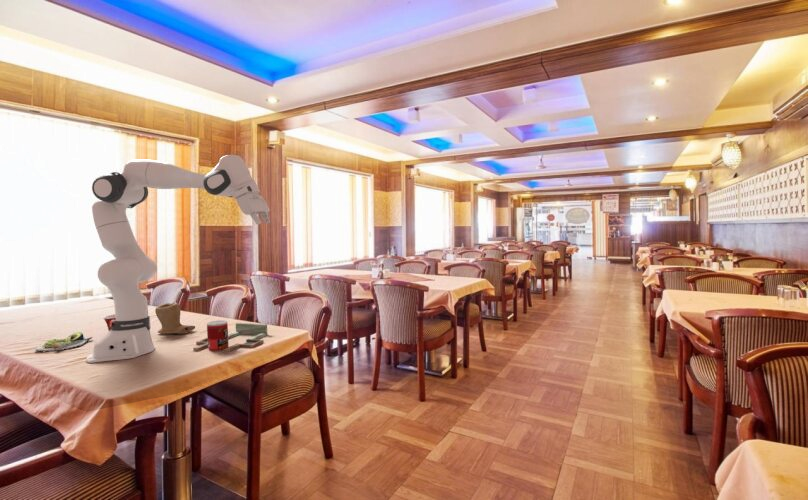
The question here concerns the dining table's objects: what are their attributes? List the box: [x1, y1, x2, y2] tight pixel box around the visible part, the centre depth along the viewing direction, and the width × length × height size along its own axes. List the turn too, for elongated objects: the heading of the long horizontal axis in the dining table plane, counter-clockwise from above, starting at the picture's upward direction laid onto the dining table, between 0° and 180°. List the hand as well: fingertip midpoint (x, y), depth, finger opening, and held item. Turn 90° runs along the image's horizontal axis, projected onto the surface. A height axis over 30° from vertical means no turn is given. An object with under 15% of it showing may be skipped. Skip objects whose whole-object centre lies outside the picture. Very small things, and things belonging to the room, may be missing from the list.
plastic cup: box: [102, 313, 116, 332], centre depth 183 cm, size 11×11×12 cm
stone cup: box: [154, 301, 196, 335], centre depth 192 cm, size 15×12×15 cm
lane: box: [193, 322, 268, 354], centre depth 174 cm, size 28×28×5 cm
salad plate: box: [35, 331, 94, 352], centre depth 174 cm, size 19×18×5 cm
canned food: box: [206, 320, 229, 352], centre depth 165 cm, size 8×8×11 cm
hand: (263, 223), depth 160 cm, fingers open, 8 cm apart
